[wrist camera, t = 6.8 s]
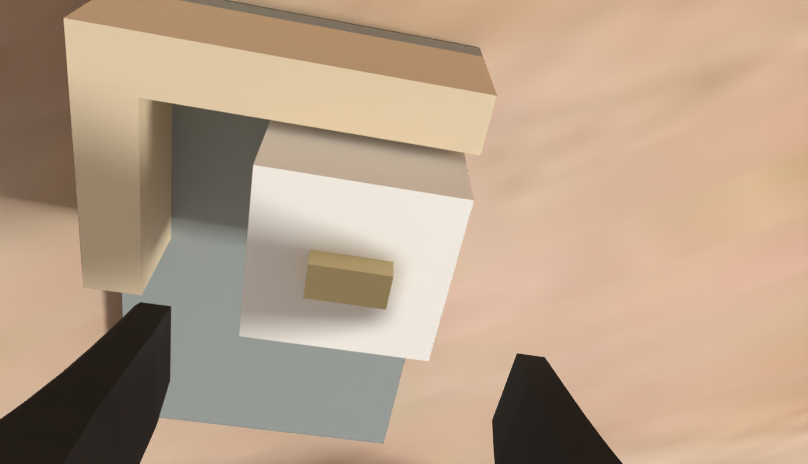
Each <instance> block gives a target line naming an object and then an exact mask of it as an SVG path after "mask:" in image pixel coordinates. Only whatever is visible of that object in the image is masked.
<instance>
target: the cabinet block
mask: <svg viewBox="0 0 808 464" xmlns="http://www.w3.org/2000/svg"><path fill="white" fill-rule="evenodd" d="M473 202H474V199H473V194H472V189H471V184H470V180H469V175H468V170H467V165H466V160H465V156H464V153H463V152H457V151H451V150H446V149H440V148H434V147H428V146H422V145H416V144H410V143H404V142H398V141H392V140H386V139H380V138H375V137H369V136H363V135H357V134H351V133H345V132H339V131H333V130H327V129H321V128H315V127H309V126H303V125H298V124H292V123H286V122H280V121H274V120H270V123H269V125H268V128H267V130H266V133H265V135H264V138H263V141H262V143H261V146H260V148H259V151H258V154H257V156H256V159H255V161H254V164H253V173H252V185H251V197H250V210H249V222H248V234H247V246H246V258H245V270H244V283H243V295H242V307H241V319H240V331H239V336H241V337H249V338H256V339H264V340H271V341H279V342H287V343H294V344H302V345H309V346H317V347H324V348H332V349H339V350H347V351H354V352H362V353H370V354H377V355H385V356H392V357H400V358H407V359H415V360H422V361H429V358H430V354H431V351H432V347H433V344H434V340H435V336H436V333H437V329H438V326H439V322H440V319H441V315H442V312H443V308H444V305H445V301H446V298H447V294H448V290H449V287H450V283H451V280H452V276H453V273H454V269H455V266H456V262H457V259H458V255H459V251H460V248H461V244H462V241H463V237H464V234H465V230H466V227H467V223H468V220H469V216H470V213H471V209H472V205H473Z"/></svg>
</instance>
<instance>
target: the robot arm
mask: <svg viewBox="0 0 808 464" xmlns="http://www.w3.org/2000/svg"><path fill="white" fill-rule="evenodd" d="M170 363H171V306H166V305H158V304H151V303H144V302H140V303H138V304H136V305H135V306H134V307H133V308H132V309H131V310H130V311H129V312H128V313H127V314H126V315H125V316H124V317H123V318H122V319H121V320H120V321H118V322H117V323H116V324H115V325H114V326H113V327H112V328H111V329H110V330H109V331H108V332H107V333H106V334H105V335H104V336H103V337H102V338H101V339H99V340H98V341H97V342H96V343H95V344H94V345H93V346H92V347H91V348H90V349H88V350H87V351H86V352H85V353H84V354H83V355H82V356H80V357H79V358H78V359H77V360H76V361H75V362H74V363H72V364H71V365H70V366H69V367H68V368H67V369H65V370H64V371H63V372H62V373H61V374H59V375H58V376H57V377H56V378H54V379H53V380H52V381H51V382H49V383H48V384H47V385H45V386H44V387H43V388H42V389H40V390H39V391H38V392H37V393H35V394H34V395H33V396H32V397H30V398H29V399H28V400H26V401H25V402H24V403H22V404H21V405H19V406H18V407H17V408H15V409H14V410H13V411H11V412H10V413H8V414H7V415H5V416H4V417H3V418H1V419H0V464H140V462H141V459H142V457H143V455H144V453H145V450H146V448H147V446H148V444H149V441H150V439H151V437H152V434H153V432H154V430H155V428H156V425H157V422H158V419H159V416H160V412H161V409H162V406H163V403H164V399H165V396H166V393H167V389H168V386H169V383H170ZM492 425H493V446H494V459H495V464H622V462H621V461H620V460H619V459H618V458H617V456H616V455H615V454H614V453H613V451H612V450H611V449H610V448H609V446H608V445H607V444H606V443H605V441H604V440H603V439H602V437H601V436H600V435H599V433H598V432H597V431H596V429H595V428H594V427H593V425H592V424H591V423H590V421H589V420H588V419H587V417H586V416H585V415H584V413H583V412H582V410H581V409H580V408H579V406H578V405H577V403H576V402H575V400H574V399H573V398H572V396H571V395H570V393H569V392H568V390H567V389H566V387H565V386H564V385H563V383H562V382H561V380H560V379H559V377H558V376H557V374H556V373H555V371H554V370H553V369H552V367H551V366H550V364H549V363H548V361H547V360H546V359H545V357H539V356H532V355H524V354H517V355H516V358H515V360H514V363H513V366H512V368H511V371H510V374H509V377H508V379H507V382H506V385H505V387H504V390H503V393H502V395H501V398H500V401H499V404H498V406H497V409H496V412H495V414H494V417H493V420H492Z"/></svg>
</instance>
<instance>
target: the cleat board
mask: <svg viewBox="0 0 808 464" xmlns="http://www.w3.org/2000/svg"><path fill="white" fill-rule="evenodd" d="M64 32H65V45H66V59H67V73H68V86H69V100H70V113H71V127H72V140H73V154H74V167H75V181H76V195H77V208H78V222H79V235H80V249H81V262H82V276H83V288H91V289H98V290H105V291H113V292H120V293H122V310H123V317H124V316H125V315H126V314H127V313H128V312H129V311H130V310H131V309H132V308H133V307H134V306H135V305H136V304H138V303H140V302H144V303H151V304H158V305H166V306H171V363H170V383H169V386H168V389H167V393H166V396H165V399H164V403H163V406H162V409H161V412H160V416H159V418H168V419H176V420H185V421H193V422H202V423H210V424H219V425H227V426H236V427H244V428H253V429H261V430H270V431H279V432H287V433H296V434H304V435H313V436H321V437H330V438H338V439H347V440H355V441H364V442H372V443H381V444H383V443H384V439H385V435H386V432H387V428H388V424H389V420H390V416H391V412H392V408H393V404H394V400H395V396H396V393H397V389H398V385H399V381H400V377H401V373H402V369H403V365H404V361H405V358H400V357H392V356H385V355H377V354H370V353H362V352H354V351H347V350H339V349H332V348H324V347H317V346H309V345H302V344H294V343H287V342H279V341H271V340H264V339H256V338H249V337H241V336H239V331H240V319H241V307H242V295H243V283H244V270H245V258H246V246H247V234H248V222H249V210H250V197H251V185H252V173H253V164H254V161H255V159H256V156H257V154H258V151H259V148H260V146H261V143H262V141H263V138H264V135H265V133H266V130H267V128H268V125H269V123H270V120H274V121H280V122H286V123H292V124H298V125H303V126H309V127H315V128H321V129H327V130H333V131H339V132H345V133H351V134H357V135H363V136H369V137H375V138H380V139H386V140H392V141H398V142H404V143H410V144H416V145H422V146H428V147H434V148H440V149H446V150H451V151H457V152H463V153H469V154H475V155H481V152H482V149H483V145H484V141H485V138H486V134H487V131H488V127H489V123H490V120H491V116H492V112H493V109H494V105H495V102H496V98H497V94H496V92H495V89H494V86H493V83H492V81H491V78H490V75H489V72H488V70H487V67H486V64H485V61H484V59H483V56H482V53H481V51H480V48H477V47H472V46H466V45H461V44H456V43H450V42H445V41H440V40H434V39H429V38H424V37H418V36H413V35H408V34H402V33H397V32H392V31H386V30H381V29H376V28H370V27H365V26H360V25H354V24H349V23H344V22H338V21H333V20H328V19H322V18H317V17H312V16H306V15H301V14H296V13H290V12H285V11H280V10H274V9H269V8H264V7H258V6H253V5H248V4H242V3H237V2H232V1H226V0H91V1H89V2H87V3H86V4H84V5H83V6H81V7H80V8H78V9H77V10H75V11H73V12H72V13H70V14H69V15H67V16H66V17H64Z"/></svg>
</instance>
